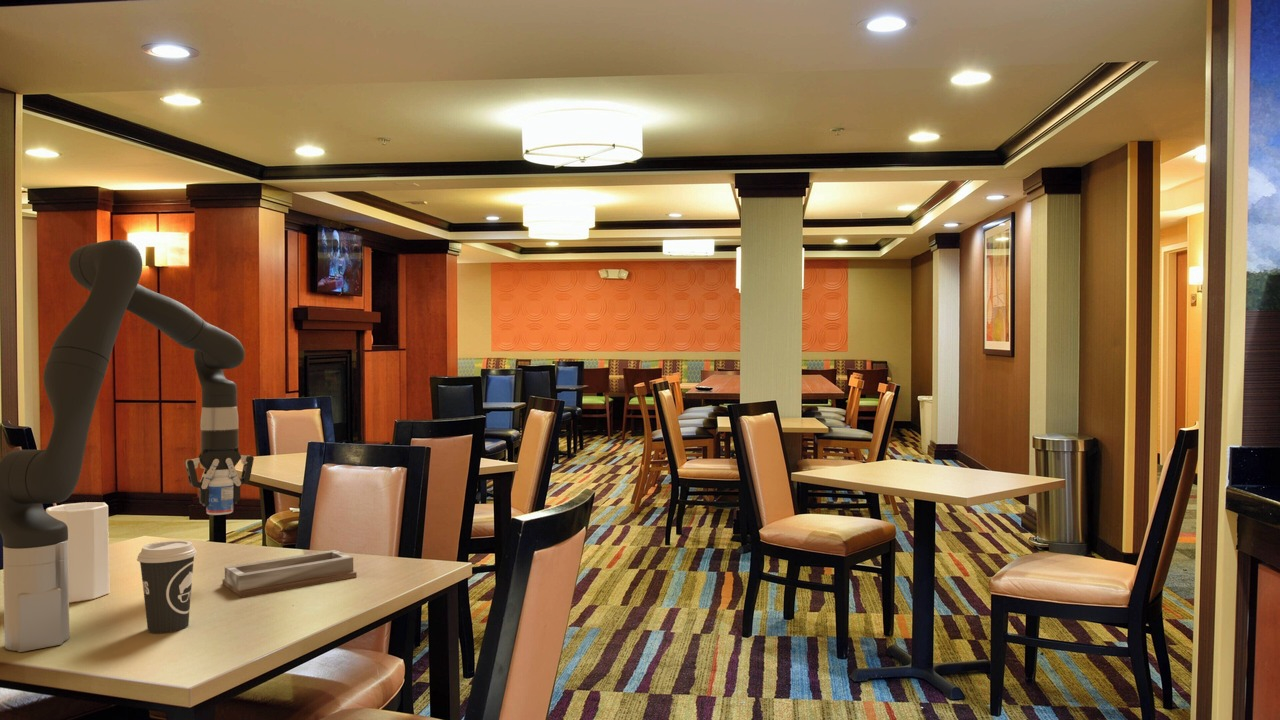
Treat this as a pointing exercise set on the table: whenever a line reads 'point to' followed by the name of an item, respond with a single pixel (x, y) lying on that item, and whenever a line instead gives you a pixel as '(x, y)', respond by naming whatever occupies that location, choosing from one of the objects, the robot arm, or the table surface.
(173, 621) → the coffee cup
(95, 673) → the table surface
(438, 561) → the table surface
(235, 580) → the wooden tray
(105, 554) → the cup
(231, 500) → the pill bottle
